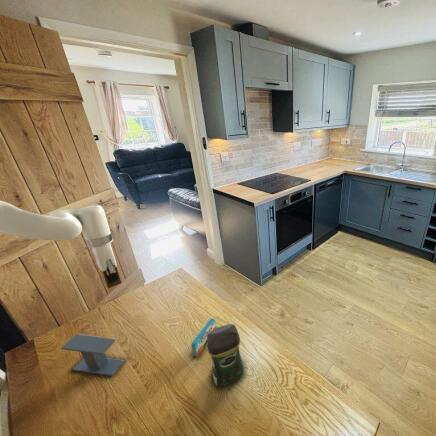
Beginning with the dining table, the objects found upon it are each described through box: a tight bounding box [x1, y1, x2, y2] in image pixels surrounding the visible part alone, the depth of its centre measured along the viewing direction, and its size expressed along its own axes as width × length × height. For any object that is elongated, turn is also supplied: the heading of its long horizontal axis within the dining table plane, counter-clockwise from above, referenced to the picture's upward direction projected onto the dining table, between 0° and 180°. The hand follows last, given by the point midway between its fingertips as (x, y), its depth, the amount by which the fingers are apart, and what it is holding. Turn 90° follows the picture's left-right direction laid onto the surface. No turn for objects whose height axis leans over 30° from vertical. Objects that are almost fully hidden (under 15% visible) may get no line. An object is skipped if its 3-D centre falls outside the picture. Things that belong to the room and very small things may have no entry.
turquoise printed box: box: [190, 317, 217, 357], centre depth 86 cm, size 12×2×6 cm, turn 164°
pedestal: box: [60, 333, 125, 377], centre depth 76 cm, size 14×5×11 cm, turn 83°
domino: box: [101, 266, 122, 289], centre depth 94 cm, size 4×2×8 cm, turn 138°
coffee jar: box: [206, 323, 245, 388], centre depth 73 cm, size 10×8×19 cm
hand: (112, 279), depth 94 cm, fingers closed on domino, 2 cm apart
